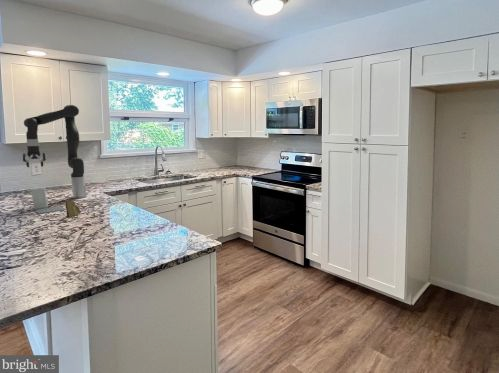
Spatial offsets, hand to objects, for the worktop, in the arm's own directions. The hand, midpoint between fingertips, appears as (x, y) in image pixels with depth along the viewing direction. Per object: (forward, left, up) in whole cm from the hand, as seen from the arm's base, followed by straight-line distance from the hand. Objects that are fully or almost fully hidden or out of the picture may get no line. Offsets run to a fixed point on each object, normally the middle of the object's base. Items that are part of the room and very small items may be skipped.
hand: (35, 166), depth 251 cm
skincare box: (+2, +17, -29) cm, 33 cm away
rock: (-10, +57, -29) cm, 65 cm away
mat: (-1, +30, -28) cm, 42 cm away
